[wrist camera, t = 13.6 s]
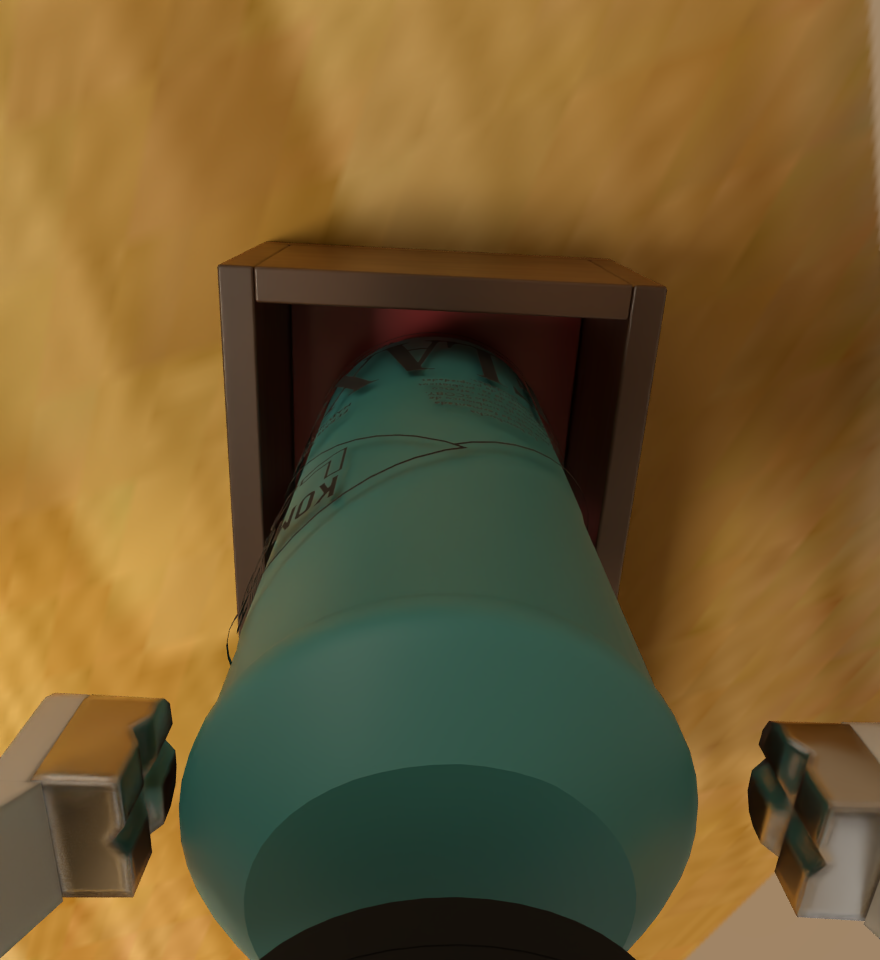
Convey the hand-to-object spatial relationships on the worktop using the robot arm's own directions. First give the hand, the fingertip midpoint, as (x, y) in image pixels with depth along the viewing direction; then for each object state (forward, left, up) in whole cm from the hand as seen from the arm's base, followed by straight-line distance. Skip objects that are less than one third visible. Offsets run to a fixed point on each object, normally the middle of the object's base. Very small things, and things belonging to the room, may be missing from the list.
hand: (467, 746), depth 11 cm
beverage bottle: (0, 0, -14) cm, 14 cm away
